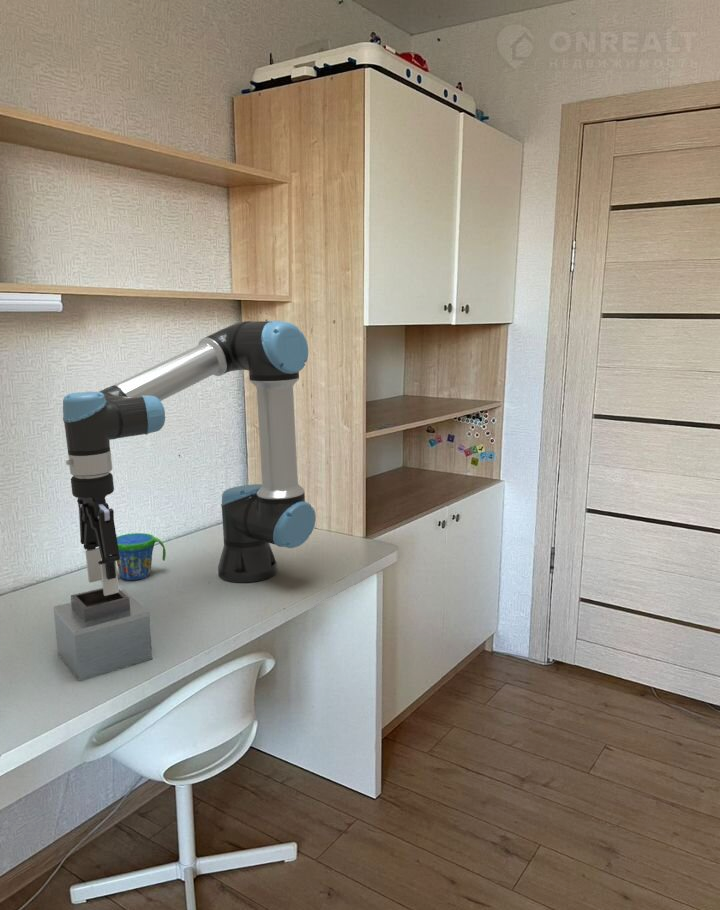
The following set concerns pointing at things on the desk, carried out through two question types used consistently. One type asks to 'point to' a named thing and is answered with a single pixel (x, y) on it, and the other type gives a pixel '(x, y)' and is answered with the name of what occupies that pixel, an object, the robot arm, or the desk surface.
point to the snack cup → (136, 555)
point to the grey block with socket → (102, 633)
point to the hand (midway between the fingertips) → (103, 586)
